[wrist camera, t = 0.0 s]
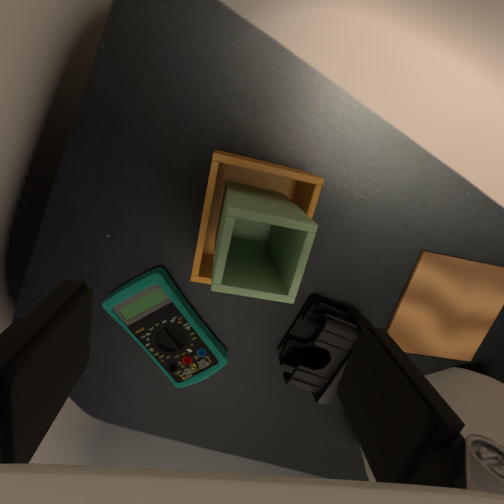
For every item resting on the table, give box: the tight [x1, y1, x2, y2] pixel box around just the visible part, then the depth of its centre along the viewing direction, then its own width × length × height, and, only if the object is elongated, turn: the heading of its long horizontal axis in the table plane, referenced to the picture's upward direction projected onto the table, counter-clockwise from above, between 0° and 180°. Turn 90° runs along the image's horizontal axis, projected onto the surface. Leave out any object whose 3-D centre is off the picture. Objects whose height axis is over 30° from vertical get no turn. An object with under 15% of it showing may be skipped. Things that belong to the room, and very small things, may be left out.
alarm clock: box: [360, 367, 504, 482], centre depth 34 cm, size 21×8×20 cm, turn 107°
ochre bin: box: [191, 150, 324, 284], centre depth 28 cm, size 11×9×7 cm
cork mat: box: [386, 250, 504, 361], centre depth 38 cm, size 14×14×1 cm
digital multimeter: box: [102, 267, 227, 388], centre depth 34 cm, size 7×15×3 cm, turn 29°
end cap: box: [278, 294, 374, 404], centre depth 35 cm, size 10×7×7 cm
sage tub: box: [211, 181, 318, 304], centre depth 25 cm, size 6×6×12 cm
